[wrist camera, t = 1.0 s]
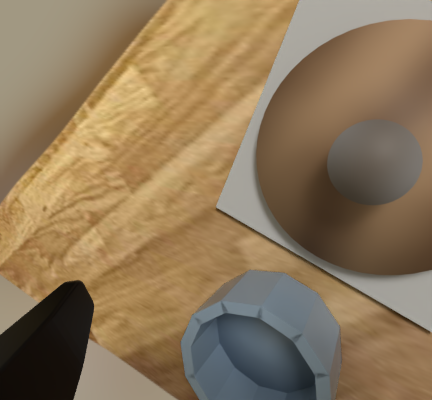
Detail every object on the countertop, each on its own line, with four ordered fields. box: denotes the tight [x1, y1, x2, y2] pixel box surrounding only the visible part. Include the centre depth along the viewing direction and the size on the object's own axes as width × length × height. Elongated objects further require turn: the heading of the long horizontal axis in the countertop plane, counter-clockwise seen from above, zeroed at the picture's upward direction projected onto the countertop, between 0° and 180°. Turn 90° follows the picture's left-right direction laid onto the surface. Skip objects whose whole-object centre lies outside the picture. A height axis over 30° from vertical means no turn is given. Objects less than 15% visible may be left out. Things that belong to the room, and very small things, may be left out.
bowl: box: [181, 270, 342, 400], centre depth 23 cm, size 10×10×5 cm
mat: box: [216, 0, 432, 332], centre depth 19 cm, size 16×16×1 cm
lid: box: [256, 19, 432, 275], centre depth 17 cm, size 14×14×4 cm
